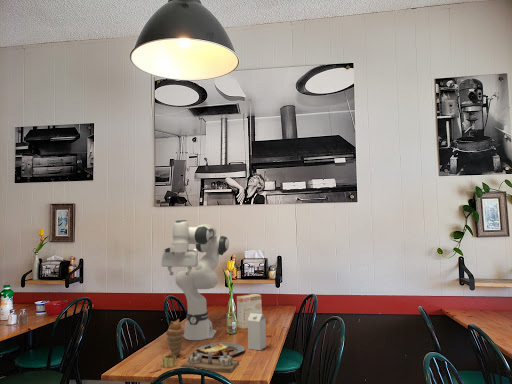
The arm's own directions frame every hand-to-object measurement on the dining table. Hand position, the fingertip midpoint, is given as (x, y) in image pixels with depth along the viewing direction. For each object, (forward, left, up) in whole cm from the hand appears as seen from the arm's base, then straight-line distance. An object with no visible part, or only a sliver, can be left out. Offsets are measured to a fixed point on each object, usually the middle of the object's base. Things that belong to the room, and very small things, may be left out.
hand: (179, 275), depth 228 cm
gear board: (+23, +26, -39) cm, 52 cm away
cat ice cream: (+12, +3, -39) cm, 41 cm away
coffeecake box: (-54, +23, -39) cm, 71 cm away
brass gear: (+25, +6, -39) cm, 46 cm away
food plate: (+2, +23, -39) cm, 46 cm away
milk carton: (-9, +40, -39) cm, 57 cm away
